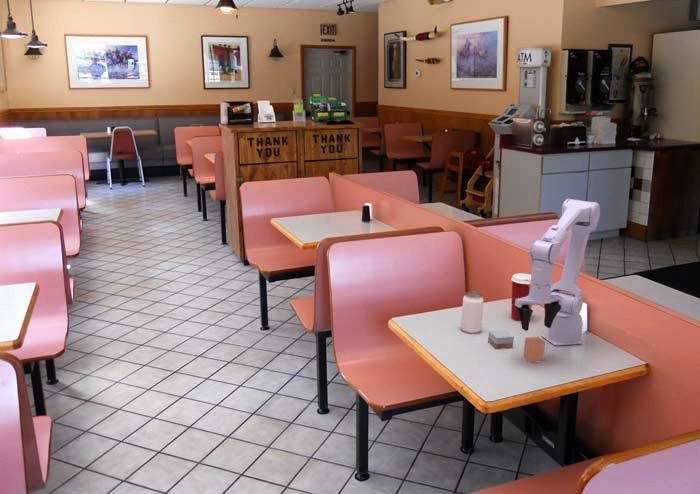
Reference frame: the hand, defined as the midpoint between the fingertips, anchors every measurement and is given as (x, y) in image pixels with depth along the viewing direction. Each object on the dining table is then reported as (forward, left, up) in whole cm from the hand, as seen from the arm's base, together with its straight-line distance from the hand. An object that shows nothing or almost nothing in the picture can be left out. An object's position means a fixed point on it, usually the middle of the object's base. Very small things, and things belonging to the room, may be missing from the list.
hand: (536, 328), depth 182 cm
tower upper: (+5, -11, -8) cm, 15 cm away
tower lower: (+5, -11, -10) cm, 16 cm away
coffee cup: (-12, -31, -10) cm, 35 cm away
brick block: (0, 0, -10) cm, 10 cm away
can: (+9, -24, -10) cm, 27 cm away
